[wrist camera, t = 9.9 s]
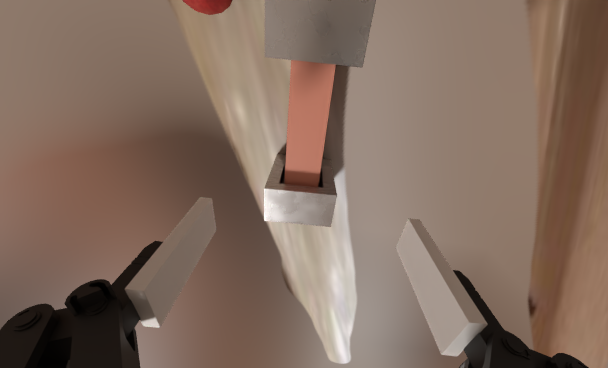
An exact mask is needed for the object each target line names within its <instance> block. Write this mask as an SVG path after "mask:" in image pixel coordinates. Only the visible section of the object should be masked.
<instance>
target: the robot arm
mask: <svg viewBox="0 0 608 368" xmlns="http://www.w3.org/2000/svg"><path fill="white" fill-rule="evenodd" d="M215 231H216V225H215V218H214V210H213V203H212V199H211V198H203V197H200V198H199V199H198V201H197V202H196V203H195V204H194V205H193V207H192V208H191V209H190V210H189V211H188V213H187V214H186V215H185V216H184V218H183V219H182V220H181V221H180V222H179V224H178V225H177V226H176V227H175V228H174V230H173V231H172V232H171V233H170V234H169V236H168V237H167V238H166V239H165V241H164V242H159V241H154V242H153V243H151V244H150V245H148V246H147V247H145V248H144V249H143V250H142V251H141V253H140V254H139V255H138V257H137V258H135V260H133V261H132V263H131V264H130V265H129V266H128V267H127V268H126V269H125V270H124V271H123V273H122V274H121V275H120V276H119V277H118V278H117V279H116V280H115V282H114V283H113V284H112V285H111V284H110V283H109V281H107V280H102V279H100V280H94V281H90V282H88V283H85V284H83V285H81V286H80V287H78V288H77V289H75V290H74V291H73V292H72V293H71V294H70V295H69V296H68V297H67V299H66V302H65V305H66V307H67V308H65V309H59V310H54V308H53V307H52V306H51V305H49V304H38V305H35V306H32V307H29V308H27V309H25V310H23V311H21V312H19V313H17V314H16V315H15V316H13V317H12V318H11V319H10V320H8V321H7V323H6V324H5V325H4V326H3V327H2V328H1V330H0V368H140V361H139V353H138V345H137V337H136V331H135V328H134V327H135V326H136V324H137V323H138V321H139V320H141V322H142V324H143V326H147V327H158V328H160V327H161V325H162V323H163V322H164V320H165V318H166V317H167V315H168V313H169V311H170V310H171V308H172V306H173V304H174V303H175V301H176V299H177V297H178V296H179V294H180V292H181V290H182V289H183V287H184V285H185V283H186V282H187V280H188V278H189V276H190V275H191V273H192V271H193V270H194V268H195V266H196V264H197V263H198V261H199V259H200V257H201V256H202V254H203V252H204V250H205V249H206V247H207V245H208V243H209V242H210V240H211V238H212V236H213V235H214V233H215ZM396 250H397V252H398V254H399V257H400V259H401V261H402V264H403V266H404V268H405V271H406V273H407V275H408V278H409V280H410V282H411V285H412V287H413V290H414V292H415V294H416V297H417V299H418V301H419V304H420V306H421V308H422V311H423V313H424V315H425V317H426V320H427V322H428V324H429V327H430V329H431V332H432V334H433V336H434V339H435V341H436V343H437V346H438V348H439V350H440V352H441V354H442V355H450V356H458V355H459V354H460V353H461V352H462V351H463V350H464V351H465V353H466V355H467V357H468V359H467V360H466V361H465V362H463V363H462V365H460V367H459V368H588V367H587V366H586V365H584V364H583V363H582V362H581V361H579V360H578V359H576V358H574V357H572V356H570V355H567V354H564V353H557V354H556V355H554V356H553V357H552V358H551V357H548V356H546V355H543V354H541V353H538V352H536V351H533V350H530V349H529V348H528V347H527V346H526V345H525V344H524V343H523V342H522V341H521V340H520V339H519V338H517V337H516V336H515V335H514V334H512V333H509V332H508V331H505V330H504V329H503V328H502V326H501V325H500V324H499V322H498V321H497V319H496V318H495V316H494V315H493V314H492V312H491V311H490V309H489V308H488V307H487V305H486V303H485V302H484V301H483V299H481V297H480V295H479V293H478V292H477V291H475V288H474V286H473V285H472V283H471V282H470V281H469V279H468V278H467V277H465V276H464V275H463V274H462V273H461V272H460V271H455V270H452V269H451V267H450V265H449V264H448V262H447V261H446V259H445V258H444V256H443V255H442V253H441V252H440V250H439V249H438V247H437V246H436V244H435V242H434V241H433V239H432V238H431V236H430V235H429V233H428V232H427V230H426V229H425V227H424V226H423V224H422V222H421V221H420V220H418V219H408V220H407V223H406V225H405V227H404V230H403V232H402V234H401V237H400V239H399V242H398V244H397V246H396Z"/></svg>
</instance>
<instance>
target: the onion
mask: <svg viewBox="0 0 608 368" xmlns="http://www.w3.org/2000/svg"><path fill="white" fill-rule="evenodd" d="M183 2H185V3H186V4H187V5H189V6H190V7H191V8H193V9H194V10H196V11H197V12H201V13H204V14H208V15H213V14H218V13H222V12H223V11H224V10H226V9H227V8H228V7H229V6H230V4H231V2H232V0H183Z"/></svg>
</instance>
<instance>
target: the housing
mask: <svg viewBox="0 0 608 368" xmlns="http://www.w3.org/2000/svg"><path fill="white" fill-rule="evenodd" d="M375 2H376V0H265V57H269V58H278V59H288V60H297V61H306V62H316V63H325V64H335V65H344V66H354V67H363V62H364V57H365V52H366V47H367V42H368V37H369V32H370V27H371V22H372V17H373V12H374V7H375Z"/></svg>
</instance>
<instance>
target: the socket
mask: <svg viewBox="0 0 608 368" xmlns="http://www.w3.org/2000/svg"><path fill="white" fill-rule="evenodd" d="M285 165H286V155H281V154H277V156H276V159H275V161H274V164H273V167H272V169H271V172H270V175H269V177H268V180H267V183H266V185H265V188H264V220H265V221H274V222H284V223H295V224H305V225H316V226H326V227H331V223H332V218H333V213H334V207H335V202H336V197H337V193H336V188H335V182H334V177H333V171H332V165H331V160H330V159H322V163H321V170H320V177H319V184H318V187H310V186H300V185H289V184H284V183H285Z"/></svg>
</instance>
